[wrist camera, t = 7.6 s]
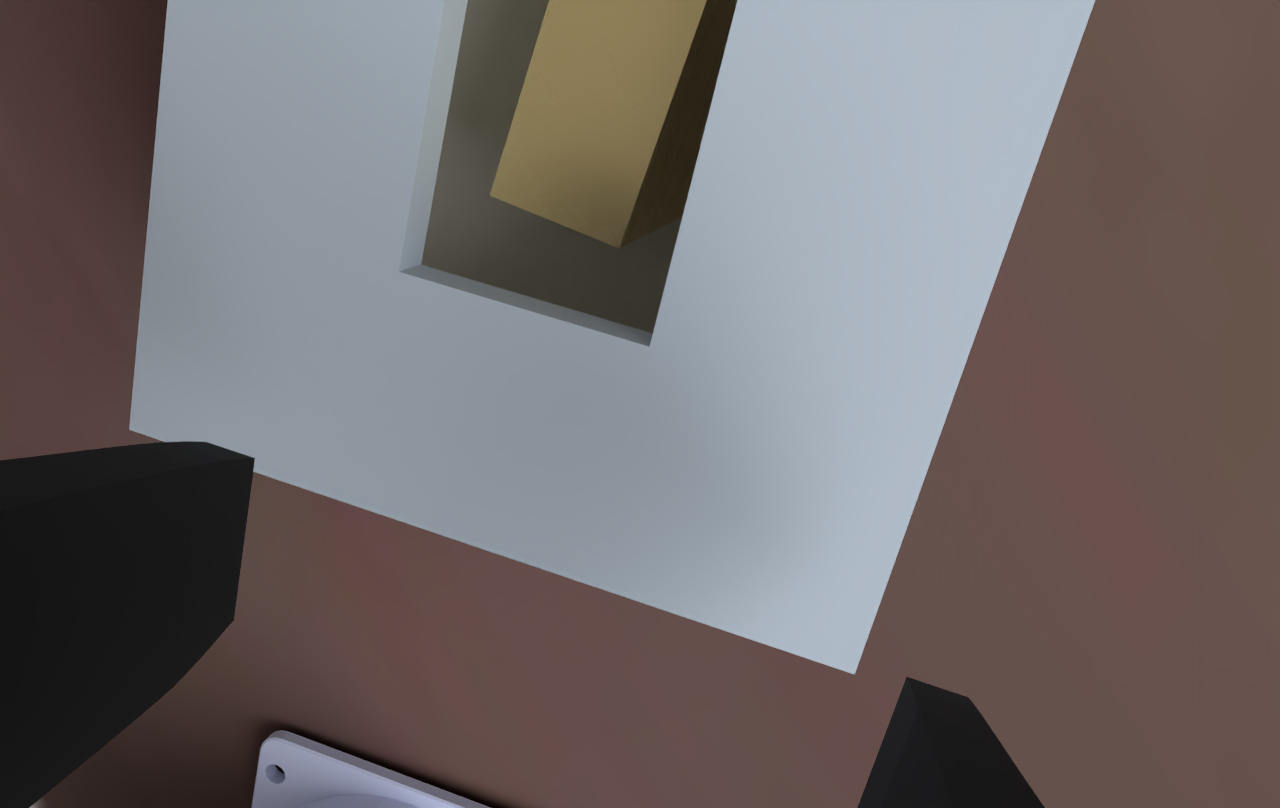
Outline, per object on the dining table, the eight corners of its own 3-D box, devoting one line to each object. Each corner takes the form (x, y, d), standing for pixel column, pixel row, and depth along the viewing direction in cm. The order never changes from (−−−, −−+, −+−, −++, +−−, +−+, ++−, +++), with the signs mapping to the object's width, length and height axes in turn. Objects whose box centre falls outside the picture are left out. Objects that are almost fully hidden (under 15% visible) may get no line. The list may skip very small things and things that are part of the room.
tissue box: (866, 493, 20) (854, 674, 14) (356, 335, 22) (129, 429, 15) (1143, -322, 16) (1317, -622, 9) (480, -446, 18) (237, -776, 11)
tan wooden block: (685, 214, 19) (619, 248, 14) (587, 175, 19) (489, 195, 15) (790, -66, 18) (753, -131, 13) (680, -106, 18) (604, -184, 13)
